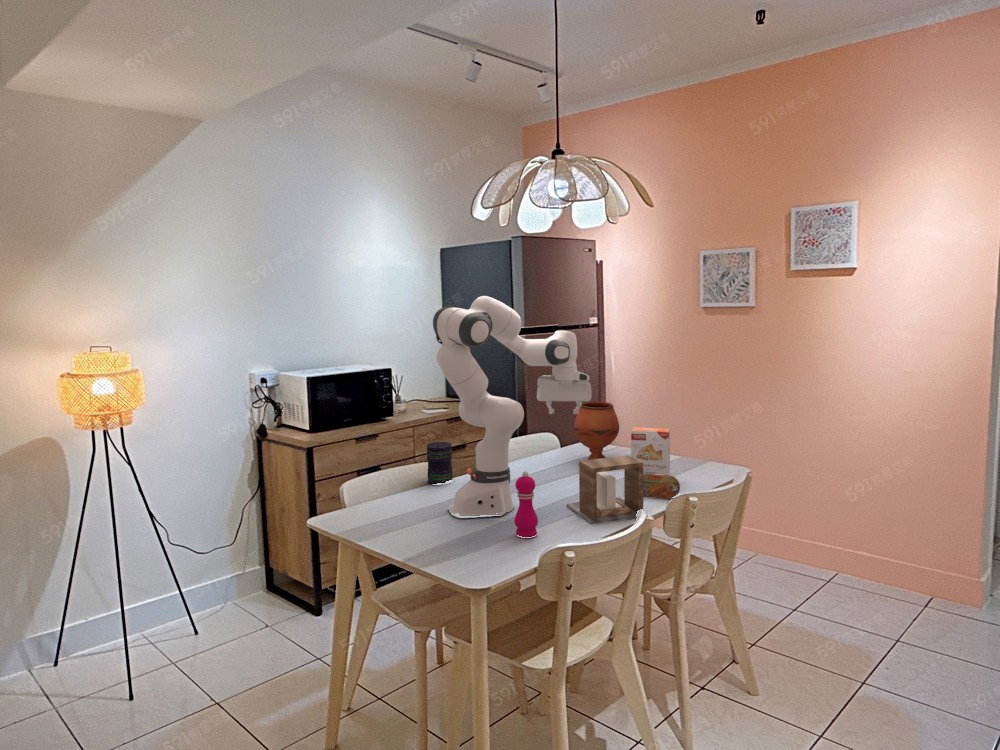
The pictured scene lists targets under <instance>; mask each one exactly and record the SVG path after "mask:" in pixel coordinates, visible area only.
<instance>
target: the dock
mask: <svg viewBox="0 0 1000 750" xmlns="http://www.w3.org/2000/svg"><path fill="white" fill-rule="evenodd" d="M578 468H579V469H578V475H579V476H578V478H579V479H578V480H579V481H578V484H579V485H578V486H579V487H578V491H579V494H578V495H579V501H578V502H576V501H575V502H569V503H566V507H567V508H568V509H569V510H570V511H572V512H573V513H575V514H576V515H577V516H579V517H580V518H581V519H582V520H584V521H585V522H586V523H588V524H589V525H597V524H604V523H610V522H617V521H624V520H625V521H626V520H631V519H636V518H635V517H636V514H637V511H638V510H640V509H643V510H644V496H643V462H641V461H639V460H637V459H635V458H633V457H631V455H621V456H612V457H611V456H610V457H606V458H600V459H591V460H587V459H584V460H583V459H582V460H579V461H578ZM621 470H623V471H624V472H623V473H624V475H623V476H624V477H623V480H624V481H623V482H624V486H623V487H624V489H623V490H624V494H623V495H624V497H623V498H622V497H621V496H617V497H616V503H618V504H619V505H621V506H622V508H618V509H611V510H603V511H597V472H611V471H612V472H614V471H621Z"/></svg>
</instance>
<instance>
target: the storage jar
mask: <svg viewBox="0 0 1000 750" xmlns="http://www.w3.org/2000/svg"><path fill="white" fill-rule="evenodd" d="M452 458H453V450H452V443H451V442H447V441H436V442H435V441H434V442H430V443H427V444H426V459H427V480H428V481H427V484H428V485H430V486H433V485H432V484H437V483H445V482H446V481H449V480H453V477H454V476H453V475H454V472H453V467H452V466H453V465H452V463H453V462H452Z"/></svg>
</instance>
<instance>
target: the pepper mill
mask: <svg viewBox="0 0 1000 750" xmlns="http://www.w3.org/2000/svg"><path fill="white" fill-rule="evenodd" d="M521 475H522V476H519V478H517V479H516V481H515V484H514V485H515V489H516V490H517V494H516V495H517V496H516V497H517V498H518V501H519V502H518V504H519V505H518V508H517V511H516V513H515V515H514V521H513V523H514V525H515V527H516V530H515V535H516V534H517V535H519V536H522V537H532V536H535V535H536V534H537V535H538V533H537V532H538V531H537V528H536V527H537V526H538V524H539V519H538V514H537V513H536V511H535V509H534V505H533V499H534V496H535V495H534V494H535V493H534V491H535V488H536V482H535V479H534V478H533V477H532V476H530V475H529V473H528V472H527V471H526V470H525V471H523V472H522V474H521Z"/></svg>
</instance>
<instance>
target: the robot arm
mask: <svg viewBox="0 0 1000 750" xmlns="http://www.w3.org/2000/svg"><path fill="white" fill-rule="evenodd" d="M432 328H433V331H434V333H435V338H436V341H437V342H438V343H439V344H441V347H440V348H439V349H438V350H437V353H436V361H437V363H438V366H439V369H440V370H441V372H442V374H443V376H444V377H445V378H446V380H447V381H448V383H449V385H450V386H451V387H452V389H453V390H454V391H455V393H456V395H457V396H458V398H459V400H460V402H459V405H458V414H459V417H460V419H461V420H462V421H463V422H465V423H467V424H469V425H470V426H471V425H472V426H474V427H480V428H484V429H485V433H484V434H485V435H484V436H483V439H482V440H480V441H478V442H477V444H476V445H475V448H474V449H475V468H474V469H472V468H470V467H469V468H467V470H466V474H467V475H468V476H470V480H468V482H466V483H465V484H464V485H463V486H461V487H460V488H459V489H457V491H456V493H455V496H454V502H453V503H451V504H452V505H450V504H449V505H448V507H447V509H448V508H449V511H451V513H453V514H454V515H455V513H459V515H460V516H480V515H503V514H505V513H506V512H508V511H510V510H512V509H513V508H514V509H515V504H514V502H513V497H512V494H511V486H510V485H511V469H510V467H509V445H510V441H511V438H512V436H513V434H514V432H515V431H516V430H517V429H519V428H520V426H521V425H522V423H523V422H524V417H525V412H524V408H523V406H522V404H521V403H520V402H519V401H516V400H514V399H512V398H510V397H503V396H497V395H492V394H490V393H489V392H488V391H487V390H488V386H489V378H488V376H487V375H486V374H485V372H484V371H483V369H482V368H481V366H480V365H479V364H478V362H477V360H476V358H475V357H473V355H472V353H471V348H476V347H480V346H482V345H484V344H485V343H486V342H487V341H488V339H489V338H490V336H491V337H493V338H494V339H495V340H496V341H497V342H498V343H499V344H500V345H502V346H503V347H504V348H506V349H507V350H508V351H510V352H511V353H512V354H513V355H514V356H515V358H516V359H517V360H518V362H519V363H520V364H521V365H522V366H523V367H527V368H528V367H529V368H530V367H552V368H551V369H552V373H551V374H552V375H543V374H542V375H540V376H539V377H538V378H537V379H536V381H537V383H536V385H537V389H536V399H537V400H538V402H545V406H546V407H547V409H548V414H549V415H555V412H556V411H555V408H553V407H552V404H553V402H575V404H576V406H575V408H573V409H572V411H573V412H572V414H573V415H577V414H579V409H580V407H581V405H582V403H583V402H591V400H592V397H593V395H592V386H591V383H590V382H589V381H590V375H588V374H587V373H583V372H581V371H578V368H577V367H578V365H577V358H578V339H577V336H576V333H575V332H573V331H570V330H566V329H565V330H564V329H557V330H556V331H554V334H553V335H551V336H549V337H547V338H534V339H533V338H523V337H522V336H521V335H519V334H520V332H521V329H522V319H521V316H520V315H519V313H518V312H517V311H516V310H514V309H513V308H512V307H510V306H508V305H506V304H505V303H504V302H502V301H500V300H497V299H495V298H494V297H490V296H488V295H481V296H479V297H477V298H476V299H474V300H473V302H472V303H471V305H470V308H468V309H466V308H461V307H455V306H445V307H441V308H440V309H437V311H436V312H435V314H434V315H433V318H432ZM470 347H471V348H470ZM449 506H454V507H449ZM514 509H513V510H514ZM513 510H512V511H513ZM510 512H511V511H510ZM496 513H498V514H496ZM508 513H509V512H508ZM473 514H474V515H473ZM506 514H507V513H506ZM506 514H505V515H506Z"/></svg>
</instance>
